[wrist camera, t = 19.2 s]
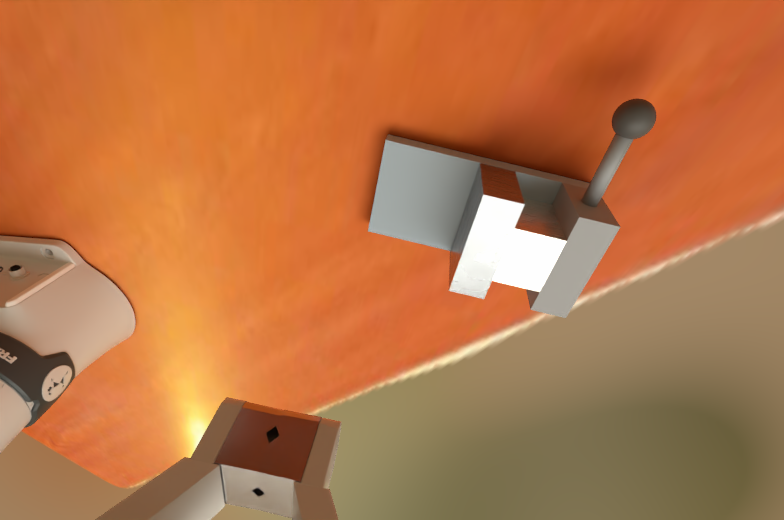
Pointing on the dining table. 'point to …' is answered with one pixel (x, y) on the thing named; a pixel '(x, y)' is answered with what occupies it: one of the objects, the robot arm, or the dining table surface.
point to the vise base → (568, 196)
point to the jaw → (484, 230)
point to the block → (531, 247)
